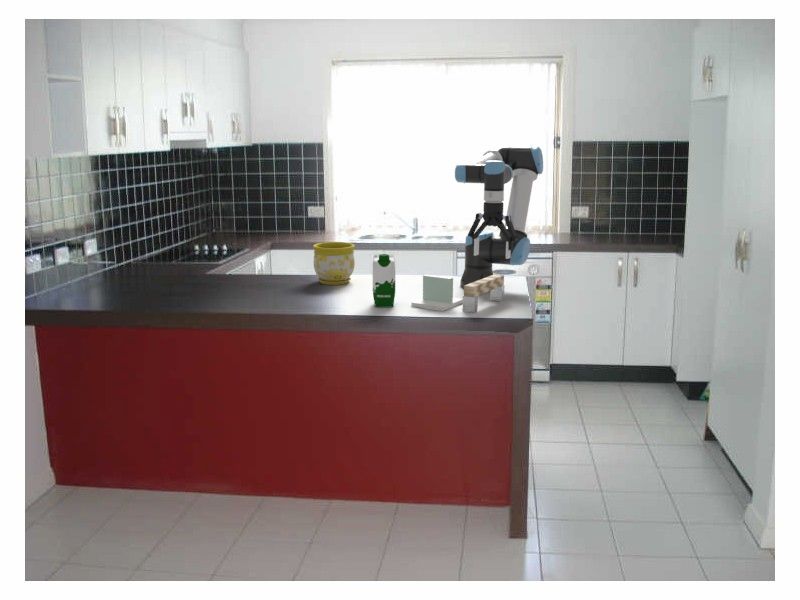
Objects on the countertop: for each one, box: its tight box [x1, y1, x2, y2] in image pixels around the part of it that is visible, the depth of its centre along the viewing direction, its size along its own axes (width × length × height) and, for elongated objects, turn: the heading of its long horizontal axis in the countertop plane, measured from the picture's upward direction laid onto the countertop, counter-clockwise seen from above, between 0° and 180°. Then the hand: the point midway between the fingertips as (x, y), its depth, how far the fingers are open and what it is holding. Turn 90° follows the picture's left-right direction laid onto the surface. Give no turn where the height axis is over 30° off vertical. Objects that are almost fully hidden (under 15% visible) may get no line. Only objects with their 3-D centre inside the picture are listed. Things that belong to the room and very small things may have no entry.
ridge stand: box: [411, 274, 463, 312], centre depth 320 cm, size 16×14×11 cm
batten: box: [463, 273, 505, 297], centre depth 317 cm, size 26×4×4 cm, turn 147°
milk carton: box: [372, 253, 396, 308], centre depth 318 cm, size 9×9×20 cm
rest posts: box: [462, 284, 505, 314], centre depth 318 cm, size 25×5×6 cm, turn 147°
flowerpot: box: [312, 241, 356, 286], centre depth 360 cm, size 18×18×16 cm
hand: (491, 256), depth 320 cm, fingers open, 13 cm apart
